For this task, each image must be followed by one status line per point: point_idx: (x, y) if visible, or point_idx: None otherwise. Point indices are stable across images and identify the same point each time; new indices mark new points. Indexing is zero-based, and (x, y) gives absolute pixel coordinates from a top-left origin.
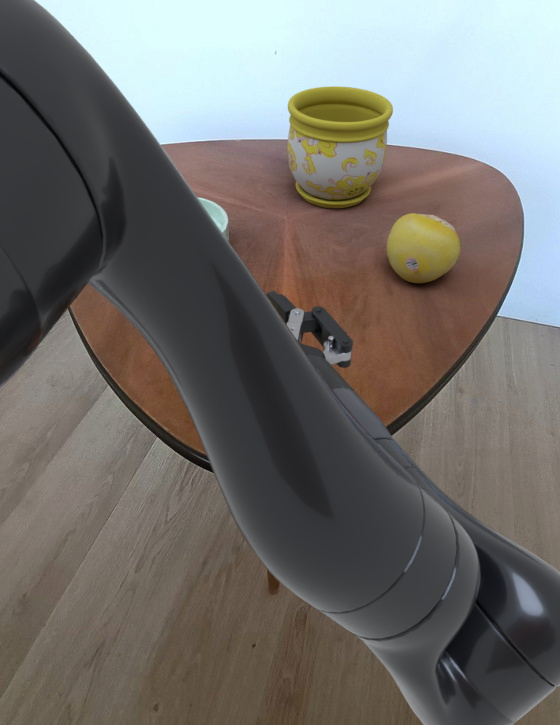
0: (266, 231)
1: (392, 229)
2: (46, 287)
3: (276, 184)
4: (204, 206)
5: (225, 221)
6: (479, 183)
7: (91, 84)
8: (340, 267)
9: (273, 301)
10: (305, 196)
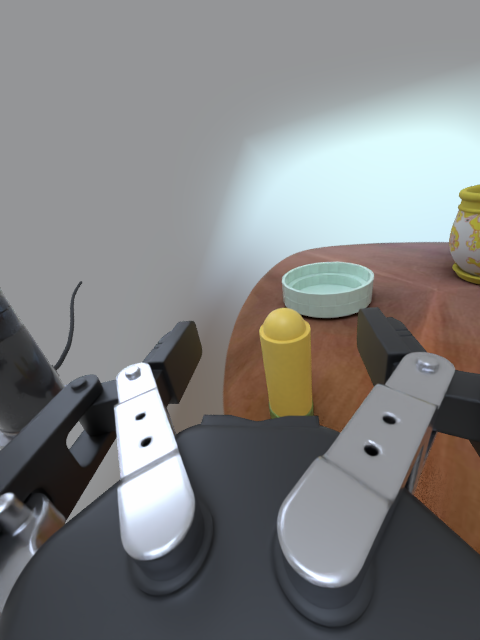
0: (412, 297)
1: None
2: None
3: (432, 267)
4: (357, 270)
5: (370, 279)
6: None
7: None
8: None
9: (367, 326)
10: (462, 274)
